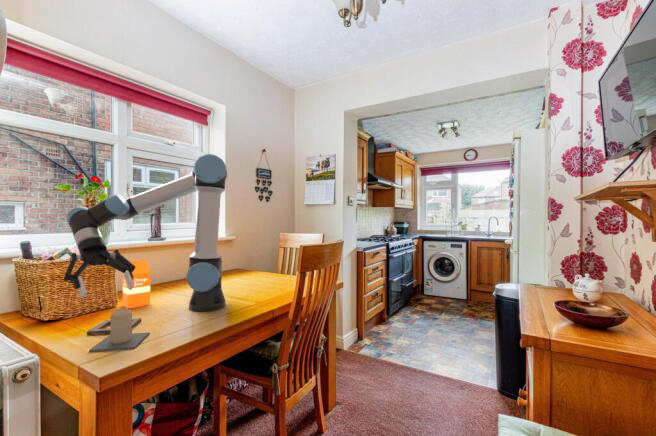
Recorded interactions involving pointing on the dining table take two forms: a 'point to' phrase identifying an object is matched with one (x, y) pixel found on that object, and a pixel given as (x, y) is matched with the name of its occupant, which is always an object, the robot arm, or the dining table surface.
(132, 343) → the charcoal mat
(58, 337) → the dining table surface
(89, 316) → the dining table surface
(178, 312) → the dining table surface
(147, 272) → the orange juice
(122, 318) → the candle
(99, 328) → the grey square frame
